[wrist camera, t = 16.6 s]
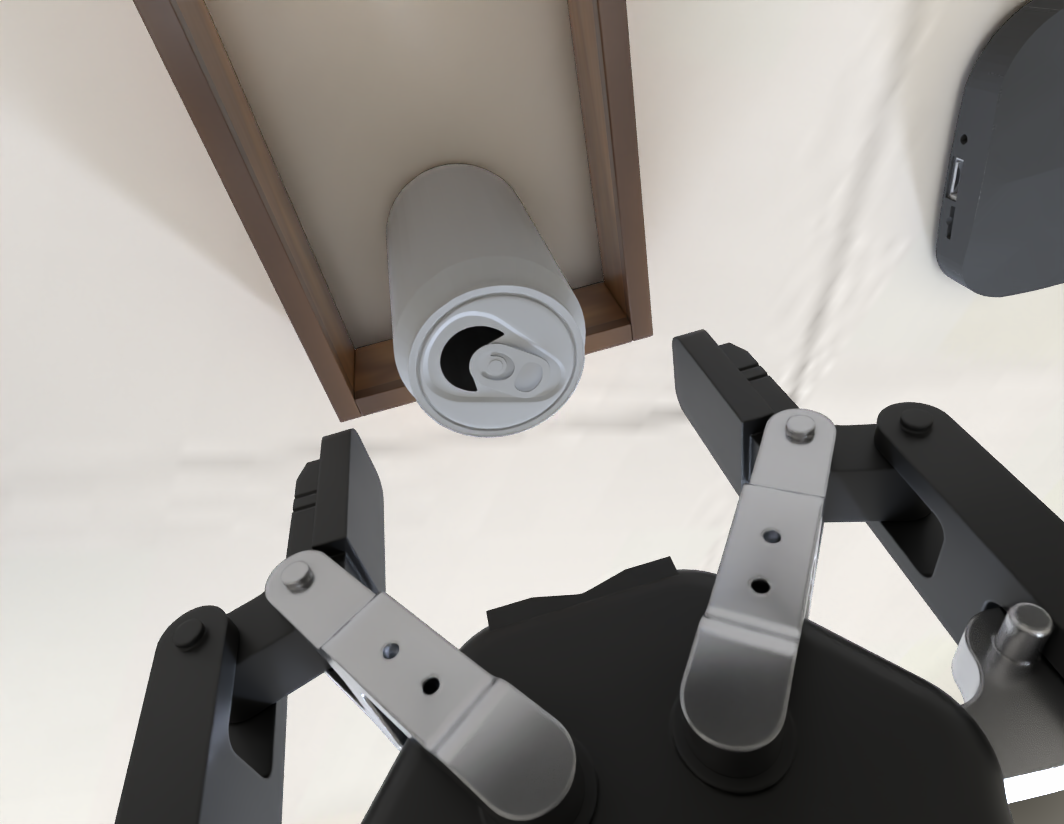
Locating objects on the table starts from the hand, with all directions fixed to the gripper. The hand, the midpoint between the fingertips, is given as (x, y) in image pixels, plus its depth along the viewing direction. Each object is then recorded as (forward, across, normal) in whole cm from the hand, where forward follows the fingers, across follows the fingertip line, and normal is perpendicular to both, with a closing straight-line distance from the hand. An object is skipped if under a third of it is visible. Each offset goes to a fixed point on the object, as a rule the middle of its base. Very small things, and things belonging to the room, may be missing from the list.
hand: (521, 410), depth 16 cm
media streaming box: (+16, -32, +5) cm, 36 cm away
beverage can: (+16, 0, +2) cm, 16 cm away
